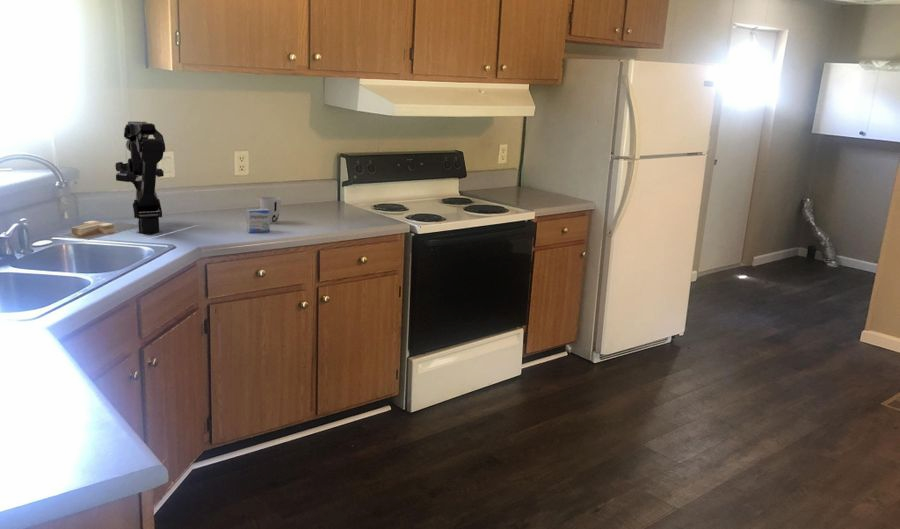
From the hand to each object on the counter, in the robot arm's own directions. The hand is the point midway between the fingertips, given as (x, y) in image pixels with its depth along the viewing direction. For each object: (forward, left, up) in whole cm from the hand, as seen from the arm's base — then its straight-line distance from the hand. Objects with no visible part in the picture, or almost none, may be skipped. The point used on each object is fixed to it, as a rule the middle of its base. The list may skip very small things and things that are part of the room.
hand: (141, 197), depth 270 cm
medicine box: (-40, -16, -11) cm, 45 cm away
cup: (-35, -32, -11) cm, 49 cm away
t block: (+5, +21, -10) cm, 24 cm away
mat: (+5, +14, -11) cm, 19 cm away
